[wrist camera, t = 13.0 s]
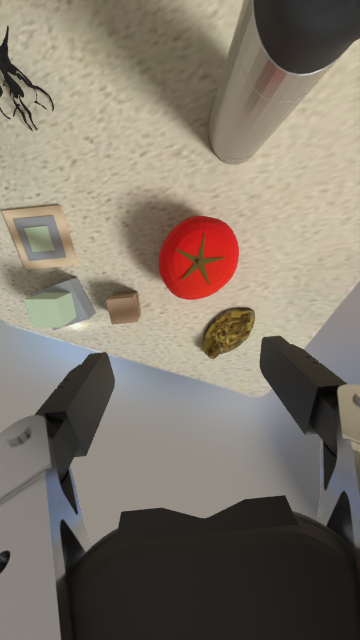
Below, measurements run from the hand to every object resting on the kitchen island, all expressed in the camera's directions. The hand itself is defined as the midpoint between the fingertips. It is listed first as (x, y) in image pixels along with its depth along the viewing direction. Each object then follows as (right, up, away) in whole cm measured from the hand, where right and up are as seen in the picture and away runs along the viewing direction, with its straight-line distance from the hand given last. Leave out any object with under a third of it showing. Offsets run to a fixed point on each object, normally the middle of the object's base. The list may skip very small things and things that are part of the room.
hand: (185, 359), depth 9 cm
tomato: (+3, +14, +27) cm, 31 cm away
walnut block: (-12, +6, +30) cm, 32 cm away
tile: (-26, +17, +24) cm, 39 cm away
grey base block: (-24, +6, +29) cm, 38 cm away
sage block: (-23, +5, +25) cm, 35 cm away
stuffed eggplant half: (+11, -1, +34) cm, 36 cm away
